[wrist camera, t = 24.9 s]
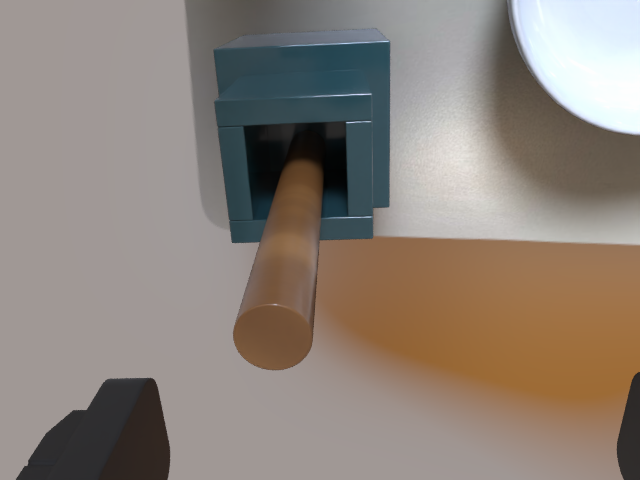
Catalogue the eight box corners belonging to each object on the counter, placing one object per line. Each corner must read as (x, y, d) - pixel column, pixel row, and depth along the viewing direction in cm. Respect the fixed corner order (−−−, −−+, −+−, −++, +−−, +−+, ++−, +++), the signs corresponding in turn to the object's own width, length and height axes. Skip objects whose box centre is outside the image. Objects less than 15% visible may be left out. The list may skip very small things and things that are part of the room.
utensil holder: (243, 34, 41) (175, 66, 24) (377, 28, 41) (407, 55, 23) (255, 163, 45) (205, 271, 28) (377, 159, 45) (403, 265, 27)
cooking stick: (298, 124, 33) (249, 292, 15) (331, 139, 33) (325, 321, 15) (284, 157, 34) (221, 354, 15) (317, 171, 34) (294, 381, 16)
